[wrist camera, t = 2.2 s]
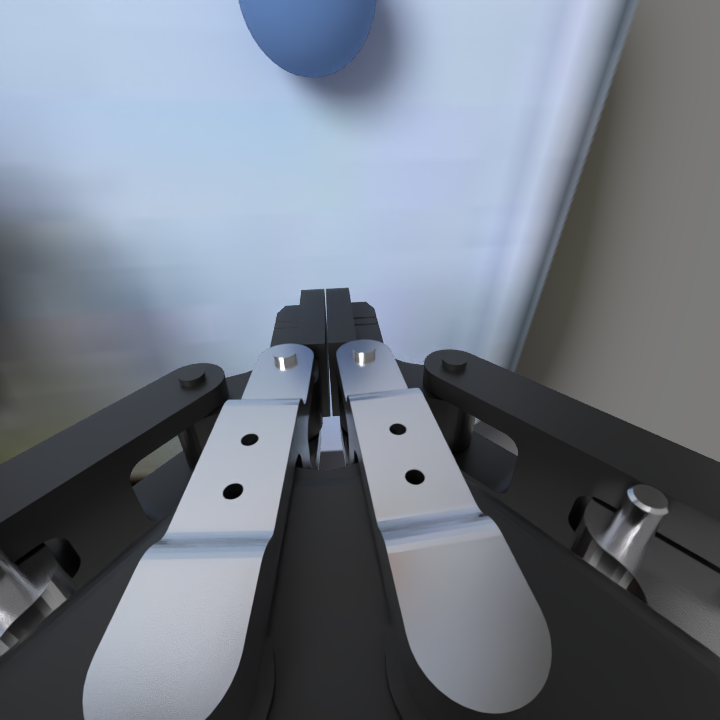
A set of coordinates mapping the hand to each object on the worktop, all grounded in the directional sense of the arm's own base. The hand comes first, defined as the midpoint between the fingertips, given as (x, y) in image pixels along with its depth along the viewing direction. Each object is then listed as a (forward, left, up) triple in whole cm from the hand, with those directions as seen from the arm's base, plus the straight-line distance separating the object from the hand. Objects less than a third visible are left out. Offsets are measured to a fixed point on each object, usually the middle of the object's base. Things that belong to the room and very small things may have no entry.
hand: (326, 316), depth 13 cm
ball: (-10, 0, -10) cm, 14 cm away
